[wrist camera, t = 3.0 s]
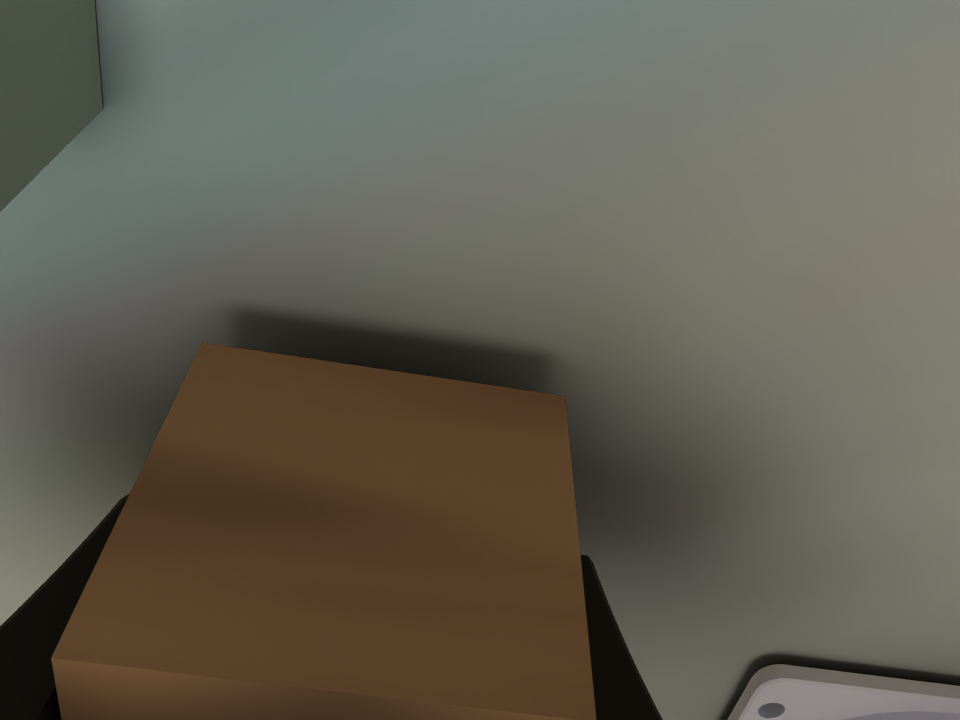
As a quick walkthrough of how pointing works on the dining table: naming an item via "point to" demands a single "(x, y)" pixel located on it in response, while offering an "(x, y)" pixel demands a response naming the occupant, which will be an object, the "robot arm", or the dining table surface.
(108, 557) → the walnut block
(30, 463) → the dining table surface
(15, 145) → the sage green base
